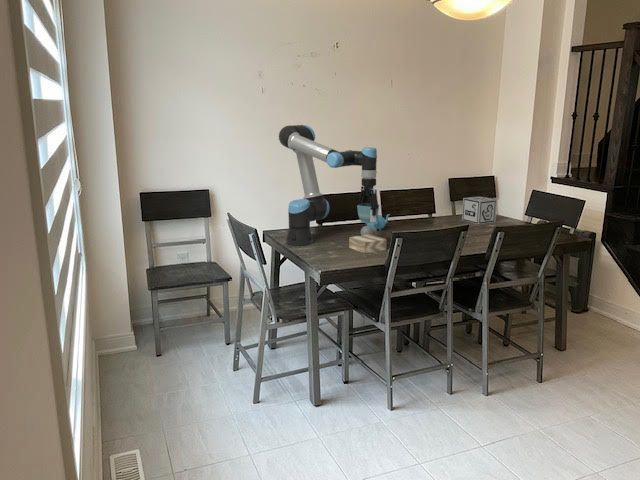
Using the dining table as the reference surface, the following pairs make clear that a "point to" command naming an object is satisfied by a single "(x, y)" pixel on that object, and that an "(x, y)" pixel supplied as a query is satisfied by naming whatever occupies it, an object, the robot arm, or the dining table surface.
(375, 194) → the robot arm
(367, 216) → the flower pot
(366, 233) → the toy rhinoceros
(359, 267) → the dining table surface
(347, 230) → the dining table surface
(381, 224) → the teapot
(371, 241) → the birch block
